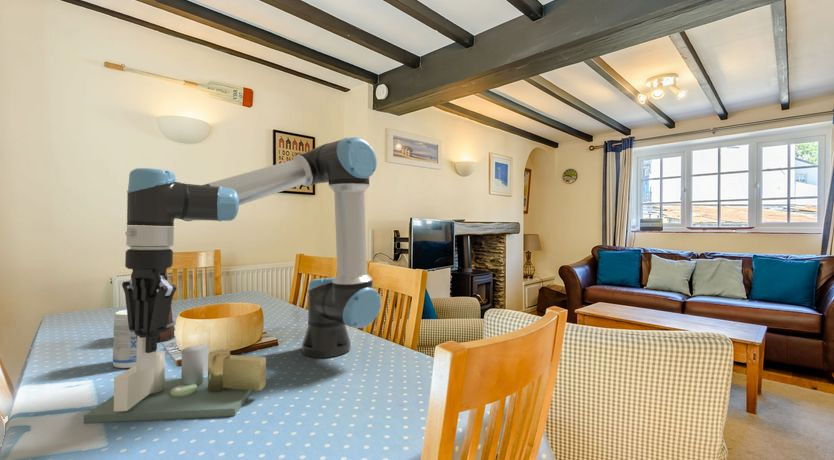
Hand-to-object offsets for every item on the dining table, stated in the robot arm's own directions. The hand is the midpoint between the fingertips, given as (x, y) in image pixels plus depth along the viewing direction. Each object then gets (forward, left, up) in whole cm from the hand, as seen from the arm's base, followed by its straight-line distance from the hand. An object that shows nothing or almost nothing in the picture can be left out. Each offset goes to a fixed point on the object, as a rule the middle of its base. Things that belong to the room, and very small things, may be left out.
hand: (146, 367), depth 72 cm
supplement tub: (+22, -34, -11) cm, 42 cm away
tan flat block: (-13, -10, -9) cm, 19 cm away
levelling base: (-2, -10, -11) cm, 15 cm away
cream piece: (+5, -7, -9) cm, 12 cm away
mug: (+31, -58, -11) cm, 67 cm away
